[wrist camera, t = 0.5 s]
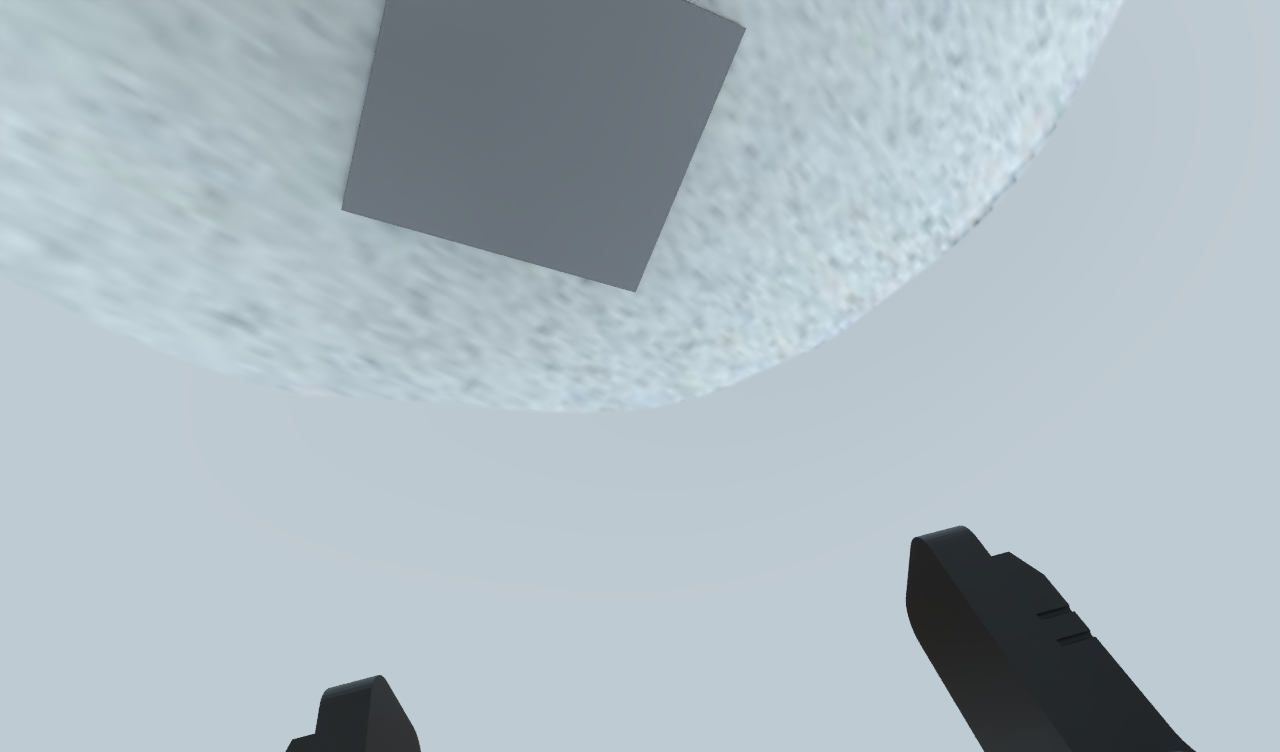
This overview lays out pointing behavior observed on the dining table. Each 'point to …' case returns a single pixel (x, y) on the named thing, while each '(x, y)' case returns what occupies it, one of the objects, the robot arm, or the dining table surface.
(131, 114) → the dining table surface
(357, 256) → the dining table surface
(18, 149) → the dining table surface
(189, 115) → the dining table surface
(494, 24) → the mat
